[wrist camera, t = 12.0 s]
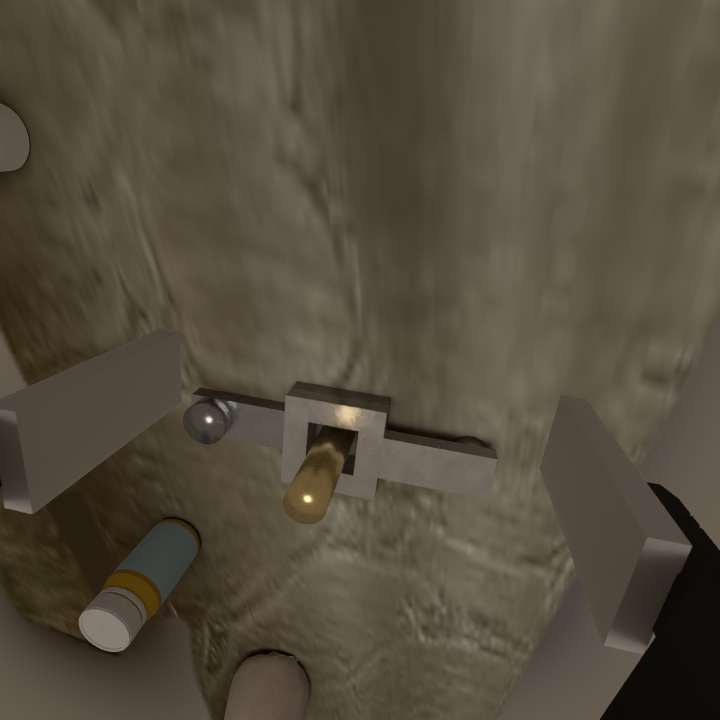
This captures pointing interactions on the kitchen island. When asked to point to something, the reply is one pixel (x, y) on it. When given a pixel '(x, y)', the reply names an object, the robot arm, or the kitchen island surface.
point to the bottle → (139, 585)
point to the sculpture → (268, 689)
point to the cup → (12, 140)
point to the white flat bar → (349, 411)
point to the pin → (318, 475)
